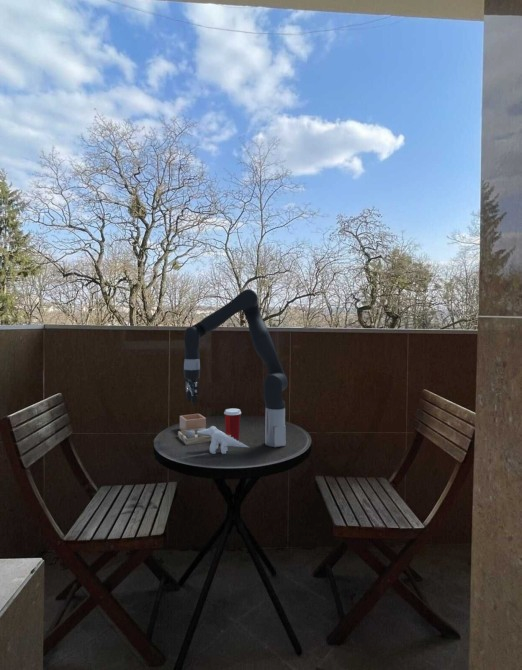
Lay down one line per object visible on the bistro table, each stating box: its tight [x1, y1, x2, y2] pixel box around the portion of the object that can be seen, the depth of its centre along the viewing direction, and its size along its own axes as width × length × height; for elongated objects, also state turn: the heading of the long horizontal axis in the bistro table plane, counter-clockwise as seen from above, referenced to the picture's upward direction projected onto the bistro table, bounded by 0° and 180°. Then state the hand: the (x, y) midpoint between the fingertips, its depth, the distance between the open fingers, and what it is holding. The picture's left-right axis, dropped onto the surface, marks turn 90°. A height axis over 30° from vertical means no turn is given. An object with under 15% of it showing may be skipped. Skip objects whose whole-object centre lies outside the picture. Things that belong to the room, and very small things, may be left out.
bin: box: [179, 413, 207, 431], centre depth 187 cm, size 11×11×8 cm
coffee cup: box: [223, 408, 242, 441], centre depth 172 cm, size 8×8×15 cm
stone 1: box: [186, 430, 195, 439], centre depth 171 cm, size 4×4×4 cm
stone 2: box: [198, 427, 207, 437], centre depth 174 cm, size 4×4×4 cm
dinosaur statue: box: [197, 425, 249, 455], centre depth 157 cm, size 7×24×11 cm, turn 84°
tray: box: [177, 429, 212, 446], centre depth 173 cm, size 14×14×4 cm
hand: (191, 401), depth 172 cm, fingers open, 8 cm apart
